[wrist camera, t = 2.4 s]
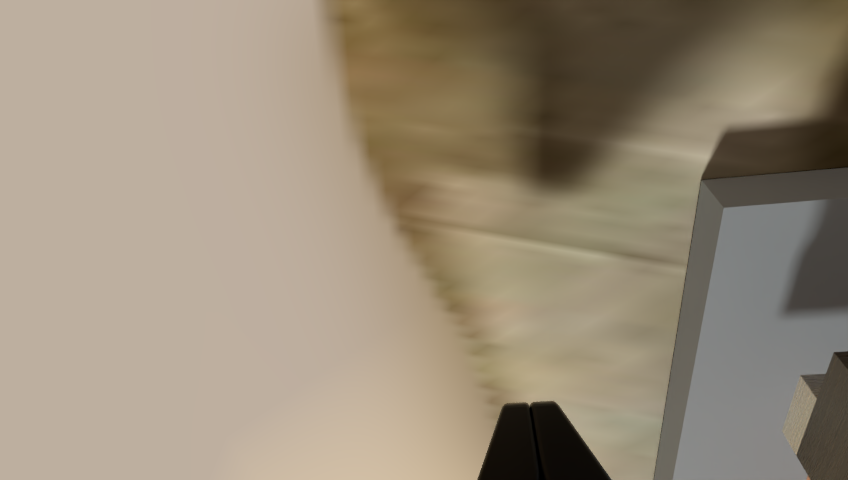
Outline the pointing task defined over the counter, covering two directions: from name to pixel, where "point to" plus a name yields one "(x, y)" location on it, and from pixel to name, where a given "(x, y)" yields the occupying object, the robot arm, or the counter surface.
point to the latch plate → (754, 322)
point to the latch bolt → (821, 421)
